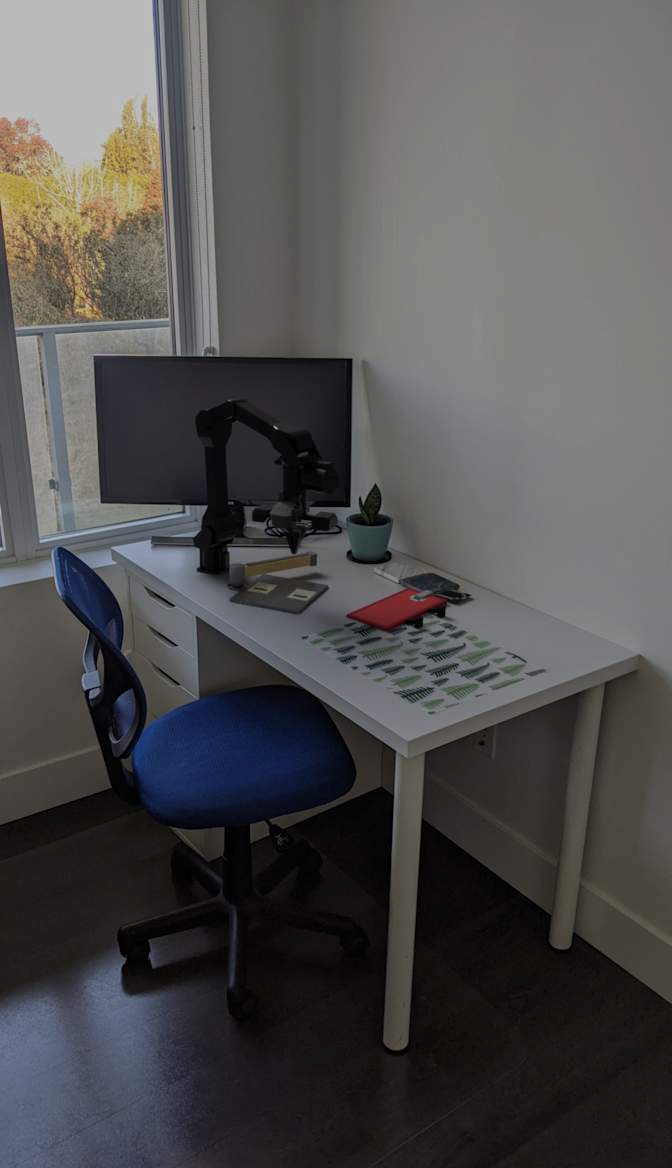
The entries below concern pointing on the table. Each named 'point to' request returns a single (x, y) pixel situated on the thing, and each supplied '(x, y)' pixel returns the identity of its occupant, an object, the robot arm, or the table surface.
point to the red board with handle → (405, 608)
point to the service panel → (278, 593)
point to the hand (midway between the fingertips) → (294, 553)
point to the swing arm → (270, 566)
